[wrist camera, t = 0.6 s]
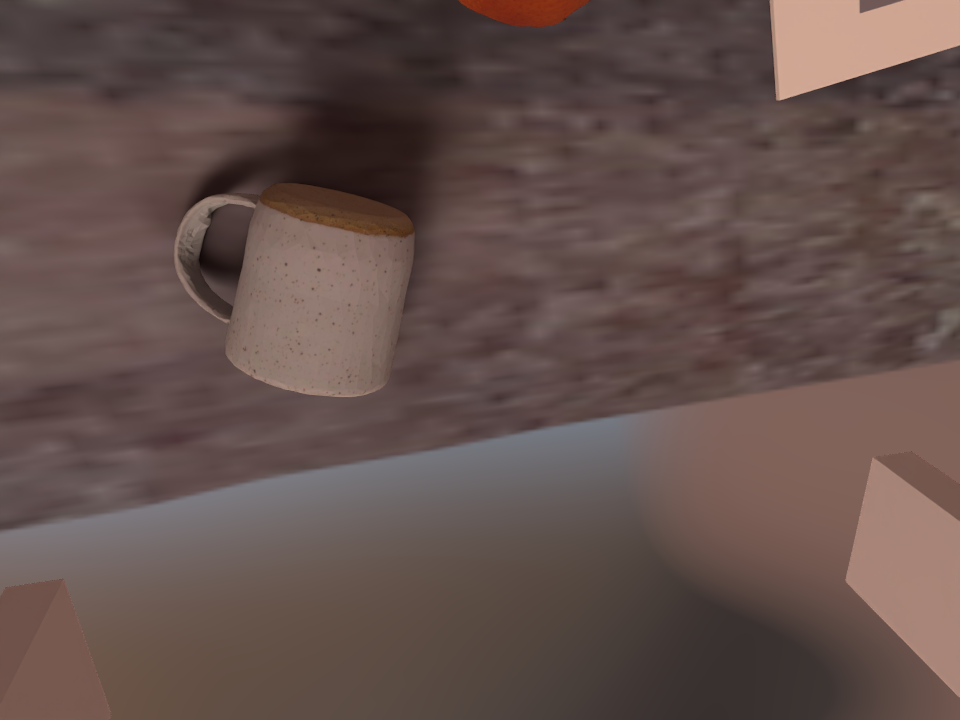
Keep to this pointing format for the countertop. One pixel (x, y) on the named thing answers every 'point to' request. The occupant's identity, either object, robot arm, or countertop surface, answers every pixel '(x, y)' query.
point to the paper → (854, 38)
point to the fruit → (525, 10)
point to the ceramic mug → (309, 287)
